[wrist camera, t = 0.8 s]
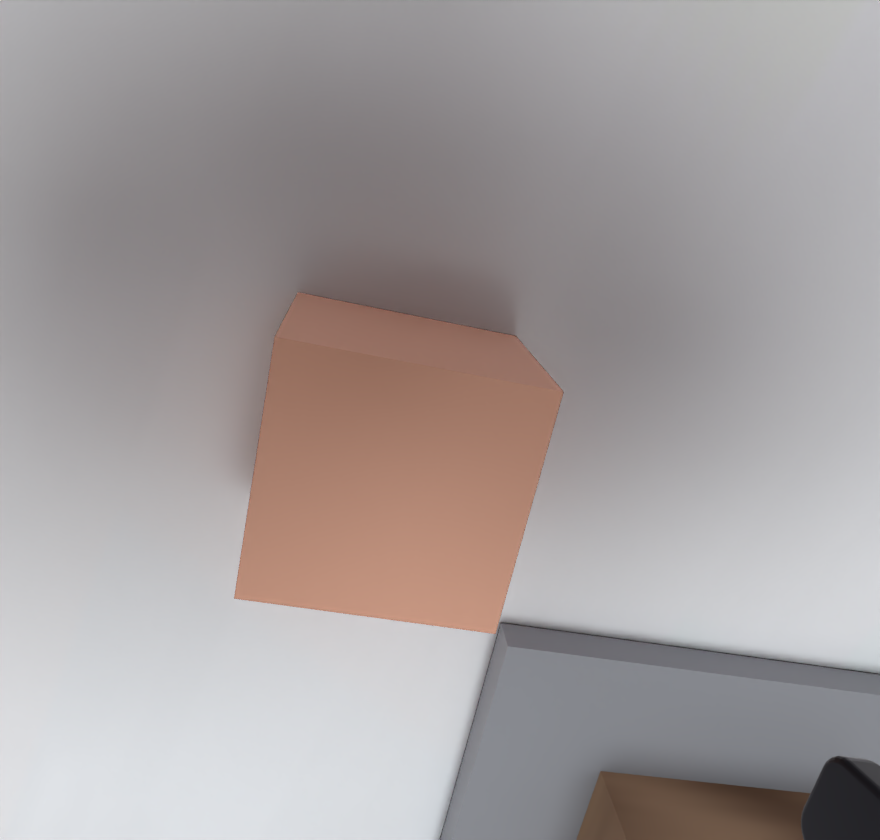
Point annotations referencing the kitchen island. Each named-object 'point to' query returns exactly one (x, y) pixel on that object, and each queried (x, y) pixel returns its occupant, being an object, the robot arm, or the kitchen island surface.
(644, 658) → the baseplate
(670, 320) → the kitchen island surface
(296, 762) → the kitchen island surface
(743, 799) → the walnut brick
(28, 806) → the kitchen island surface
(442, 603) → the terracotta block
